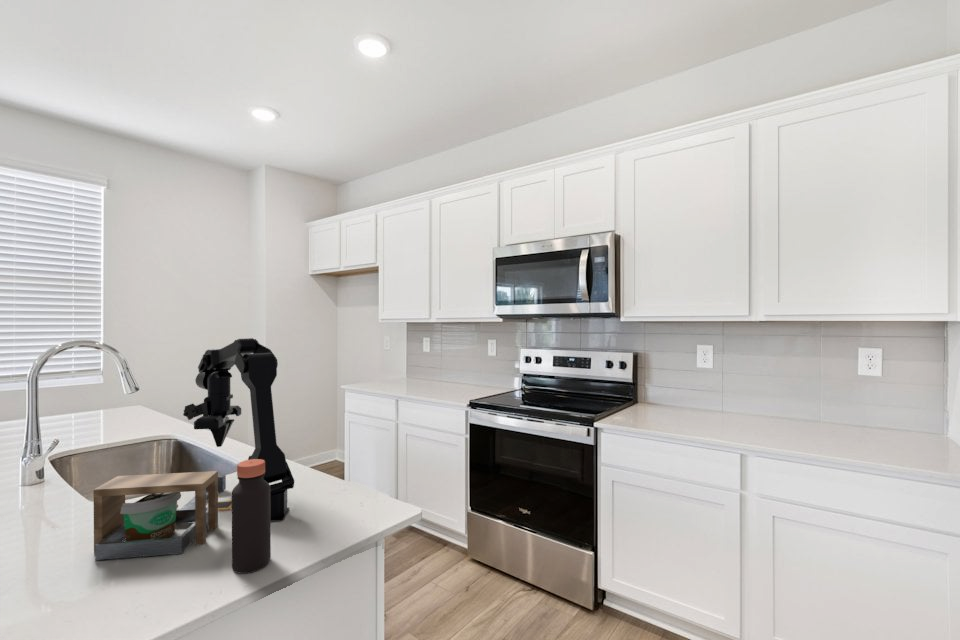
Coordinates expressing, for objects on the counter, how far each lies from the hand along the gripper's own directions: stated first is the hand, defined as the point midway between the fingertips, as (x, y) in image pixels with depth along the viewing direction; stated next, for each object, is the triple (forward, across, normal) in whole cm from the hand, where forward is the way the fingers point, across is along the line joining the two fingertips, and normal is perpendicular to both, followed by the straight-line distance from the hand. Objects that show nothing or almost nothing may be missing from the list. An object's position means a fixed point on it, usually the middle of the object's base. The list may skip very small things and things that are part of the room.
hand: (219, 446), depth 131 cm
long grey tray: (+11, +23, 0) cm, 25 cm away
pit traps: (+11, +17, 0) cm, 20 cm away
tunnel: (+11, +33, 0) cm, 35 cm away
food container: (+11, +33, 0) cm, 35 cm away
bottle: (+11, +47, +23) cm, 53 cm away
